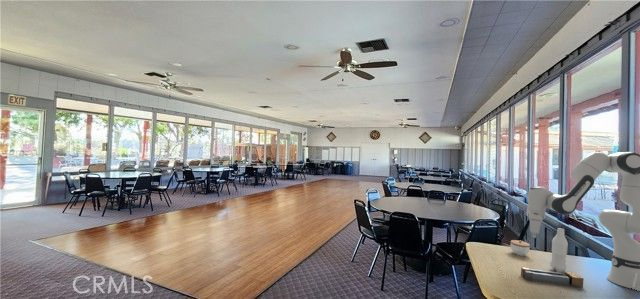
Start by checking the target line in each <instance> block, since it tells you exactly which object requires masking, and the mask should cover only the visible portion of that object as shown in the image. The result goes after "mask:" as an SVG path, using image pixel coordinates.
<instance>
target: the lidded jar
mask: <svg viewBox="0 0 640 299" xmlns="http://www.w3.org/2000/svg"><path fill="white" fill-rule="evenodd" d="M530 246H531V244H530V243H528V242H526V241H523V240H516V239H512V240H510V249H511V251H512V253H513V254H515V255H516V254H517V256H519V255H520V256H521V257H525V256H527V255H528V253H529V252H530Z"/></svg>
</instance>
